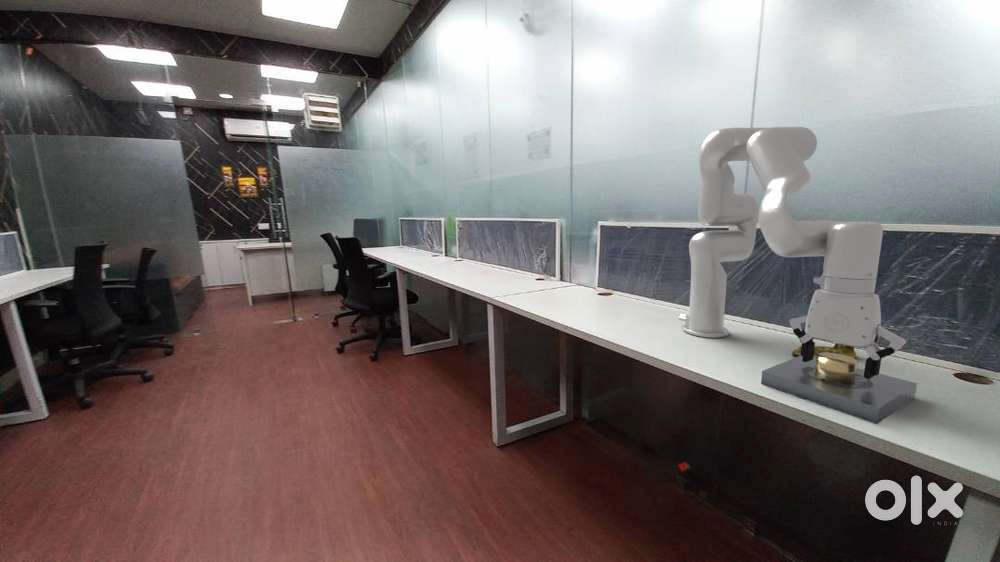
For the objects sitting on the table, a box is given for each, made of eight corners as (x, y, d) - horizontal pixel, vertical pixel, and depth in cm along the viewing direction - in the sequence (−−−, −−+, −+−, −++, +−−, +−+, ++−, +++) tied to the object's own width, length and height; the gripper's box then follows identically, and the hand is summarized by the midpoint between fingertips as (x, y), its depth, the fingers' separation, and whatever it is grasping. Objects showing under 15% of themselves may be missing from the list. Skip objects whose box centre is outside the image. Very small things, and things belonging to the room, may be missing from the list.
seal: (810, 370, 86) (870, 366, 86) (814, 352, 85) (875, 348, 85) (779, 351, 95) (834, 348, 95) (782, 335, 94) (838, 332, 94)
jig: (761, 383, 77) (762, 370, 76) (802, 366, 85) (804, 354, 84) (877, 424, 61) (879, 408, 60) (914, 397, 69) (917, 383, 68)
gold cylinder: (807, 386, 74) (811, 356, 73) (821, 380, 77) (825, 350, 76) (845, 399, 69) (849, 366, 68) (858, 391, 72) (863, 359, 71)
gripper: (785, 281, 75) (777, 358, 78) (904, 295, 60) (890, 390, 63) (803, 278, 79) (795, 351, 81) (920, 290, 63) (905, 380, 66)
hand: (836, 368), depth 72 cm, fingers open, 9 cm apart
